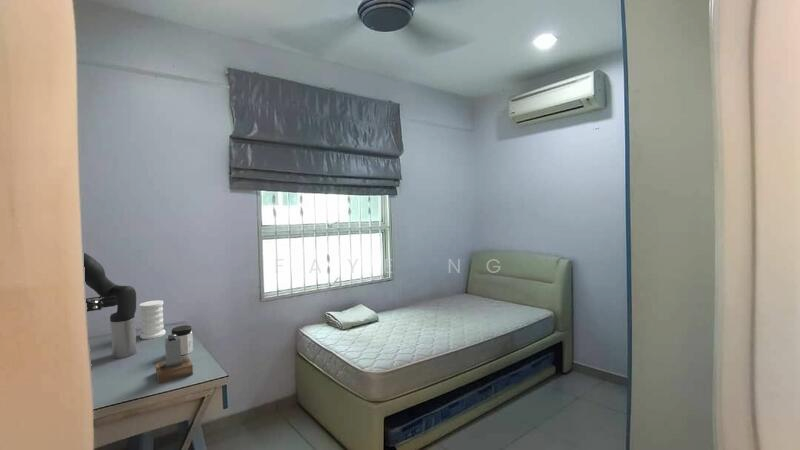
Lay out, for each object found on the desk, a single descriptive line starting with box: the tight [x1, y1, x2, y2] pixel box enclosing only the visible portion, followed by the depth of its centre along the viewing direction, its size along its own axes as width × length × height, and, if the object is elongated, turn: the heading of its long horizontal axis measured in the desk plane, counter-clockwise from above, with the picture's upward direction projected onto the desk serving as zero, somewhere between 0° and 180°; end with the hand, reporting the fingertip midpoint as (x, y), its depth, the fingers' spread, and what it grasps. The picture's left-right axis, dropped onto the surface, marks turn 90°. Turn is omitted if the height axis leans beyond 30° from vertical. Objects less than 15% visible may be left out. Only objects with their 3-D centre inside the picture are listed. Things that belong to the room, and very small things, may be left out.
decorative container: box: [139, 299, 166, 340], centre depth 196 cm, size 12×12×18 cm
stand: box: [155, 355, 194, 384], centre depth 152 cm, size 12×12×4 cm
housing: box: [164, 333, 182, 368], centre depth 151 cm, size 6×6×12 cm
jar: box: [171, 324, 194, 356], centre depth 173 cm, size 9×8×12 cm
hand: (115, 300), depth 148 cm, fingers open, 8 cm apart
